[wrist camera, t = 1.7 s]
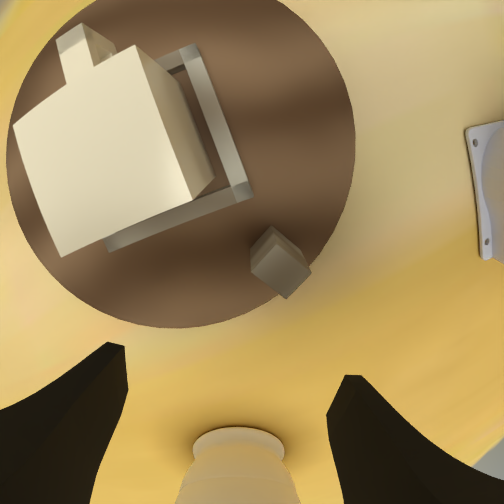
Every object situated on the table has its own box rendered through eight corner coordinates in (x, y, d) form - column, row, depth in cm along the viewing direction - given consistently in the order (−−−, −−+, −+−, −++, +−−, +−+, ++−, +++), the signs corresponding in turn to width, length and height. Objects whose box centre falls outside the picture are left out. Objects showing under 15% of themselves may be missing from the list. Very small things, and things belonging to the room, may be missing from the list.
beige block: (215, 176, 15) (192, 200, 8) (126, 213, 15) (61, 257, 9) (163, 37, 12) (114, -18, 6) (79, 82, 13) (0, 62, 6)
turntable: (382, 254, 18) (417, 286, 13) (98, 344, 20) (73, 384, 15) (271, -50, 11) (277, -92, 7) (-5, 90, 13) (-49, 88, 9)
